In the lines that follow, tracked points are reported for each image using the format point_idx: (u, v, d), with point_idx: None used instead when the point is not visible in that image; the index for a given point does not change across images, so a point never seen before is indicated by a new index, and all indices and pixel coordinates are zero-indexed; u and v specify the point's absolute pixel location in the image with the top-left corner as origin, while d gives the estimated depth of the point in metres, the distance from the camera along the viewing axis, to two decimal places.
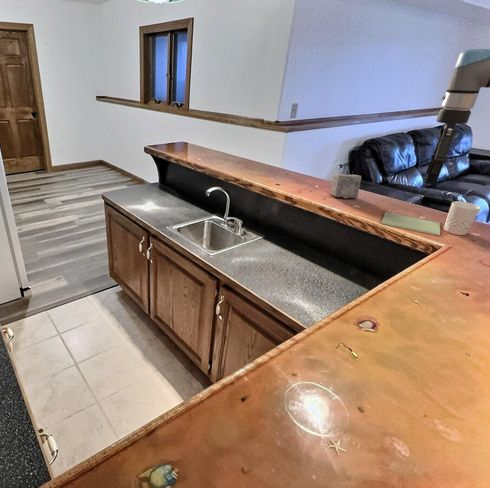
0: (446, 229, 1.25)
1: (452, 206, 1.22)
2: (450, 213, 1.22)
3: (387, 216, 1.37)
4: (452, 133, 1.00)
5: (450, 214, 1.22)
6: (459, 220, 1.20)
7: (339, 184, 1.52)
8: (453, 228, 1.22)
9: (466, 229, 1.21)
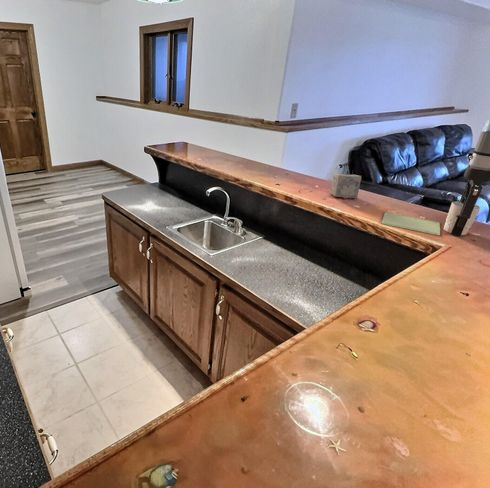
0: (446, 229, 1.25)
1: (451, 206, 1.22)
2: (450, 213, 1.22)
3: (387, 216, 1.37)
4: (477, 194, 1.13)
5: (450, 214, 1.22)
6: None
7: (339, 184, 1.52)
8: None
9: (466, 229, 1.21)
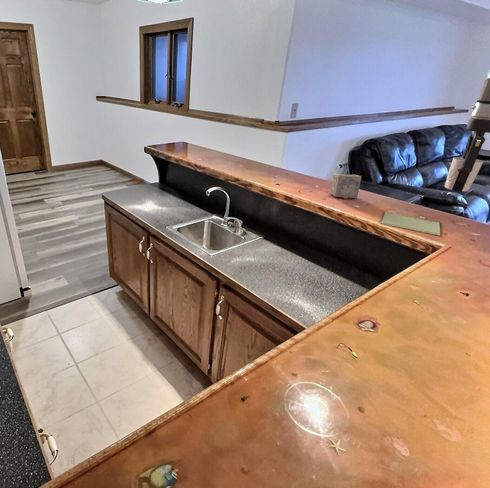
0: (447, 186, 1.20)
1: (453, 161, 1.17)
2: (451, 169, 1.18)
3: (387, 216, 1.37)
4: (480, 145, 1.08)
5: (451, 170, 1.18)
6: None
7: (339, 184, 1.52)
8: None
9: (468, 185, 1.16)
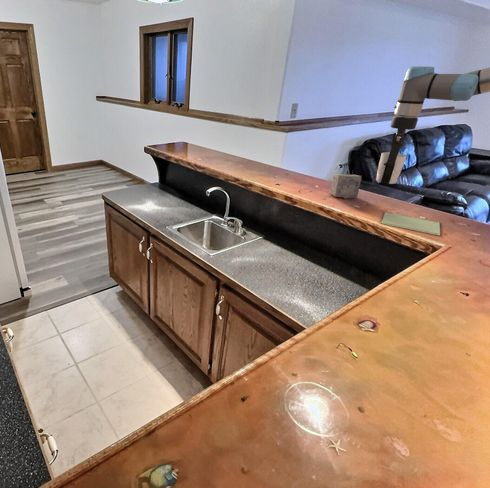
0: (377, 179, 1.30)
1: (381, 156, 1.28)
2: (380, 163, 1.28)
3: (387, 216, 1.37)
4: (400, 140, 1.18)
5: (380, 164, 1.28)
6: None
7: (339, 184, 1.52)
8: None
9: (394, 177, 1.27)
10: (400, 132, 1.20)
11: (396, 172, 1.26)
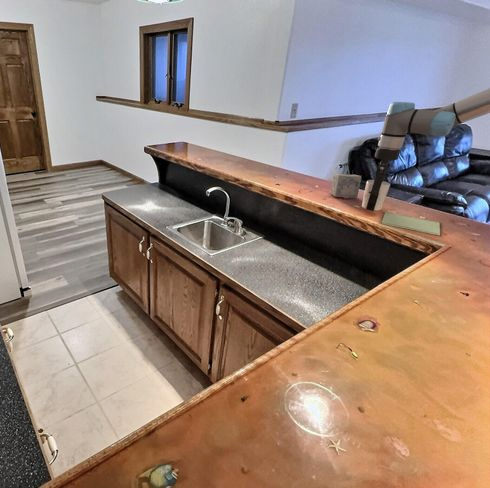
0: (363, 205, 1.36)
1: (366, 184, 1.34)
2: (365, 190, 1.34)
3: (387, 216, 1.37)
4: (383, 171, 1.24)
5: (365, 191, 1.34)
6: None
7: (339, 184, 1.52)
8: None
9: (379, 204, 1.33)
10: (383, 163, 1.26)
11: (380, 200, 1.32)
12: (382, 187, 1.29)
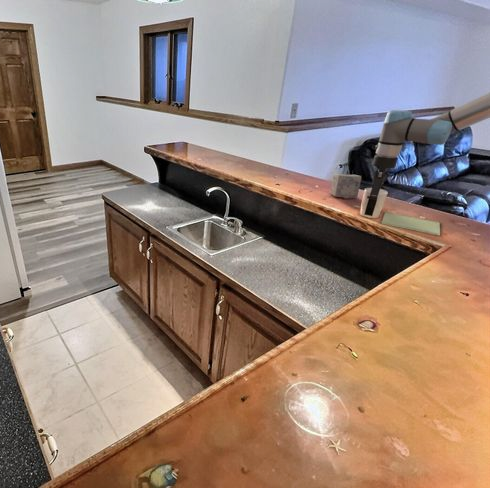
0: (361, 213, 1.38)
1: (364, 192, 1.35)
2: (363, 198, 1.36)
3: (387, 216, 1.37)
4: (382, 176, 1.25)
5: (363, 199, 1.36)
6: None
7: (339, 184, 1.52)
8: None
9: (376, 212, 1.34)
10: (381, 170, 1.27)
11: (378, 208, 1.33)
12: (380, 195, 1.30)
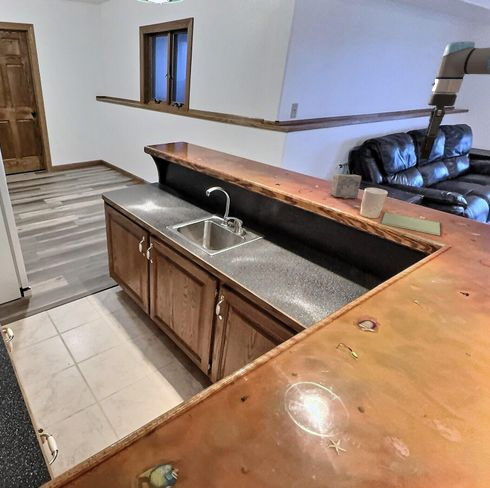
0: (361, 213, 1.38)
1: (364, 192, 1.35)
2: (363, 198, 1.36)
3: (387, 216, 1.37)
4: (441, 113, 1.17)
5: (363, 199, 1.36)
6: (370, 204, 1.33)
7: (339, 184, 1.52)
8: (365, 211, 1.35)
9: (376, 212, 1.34)
10: (439, 109, 1.19)
11: (378, 208, 1.33)
12: (380, 195, 1.30)
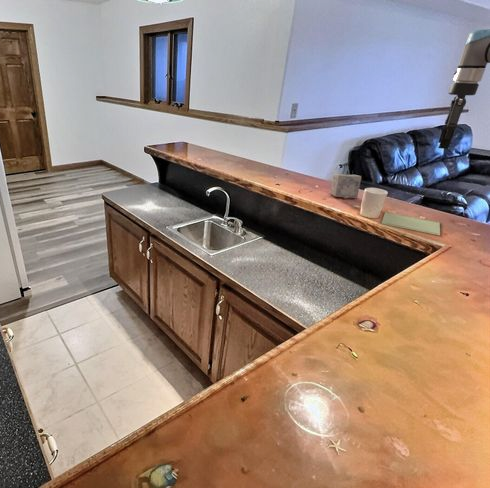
0: (361, 213, 1.38)
1: (364, 192, 1.35)
2: (363, 198, 1.36)
3: (387, 216, 1.37)
4: (462, 102, 1.17)
5: (363, 199, 1.36)
6: (370, 204, 1.33)
7: (339, 184, 1.52)
8: (365, 211, 1.35)
9: (376, 212, 1.34)
10: (460, 98, 1.19)
11: (378, 208, 1.33)
12: (380, 195, 1.30)
